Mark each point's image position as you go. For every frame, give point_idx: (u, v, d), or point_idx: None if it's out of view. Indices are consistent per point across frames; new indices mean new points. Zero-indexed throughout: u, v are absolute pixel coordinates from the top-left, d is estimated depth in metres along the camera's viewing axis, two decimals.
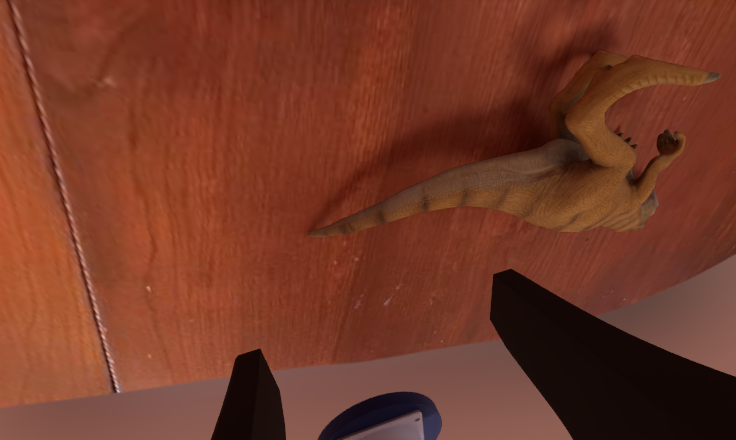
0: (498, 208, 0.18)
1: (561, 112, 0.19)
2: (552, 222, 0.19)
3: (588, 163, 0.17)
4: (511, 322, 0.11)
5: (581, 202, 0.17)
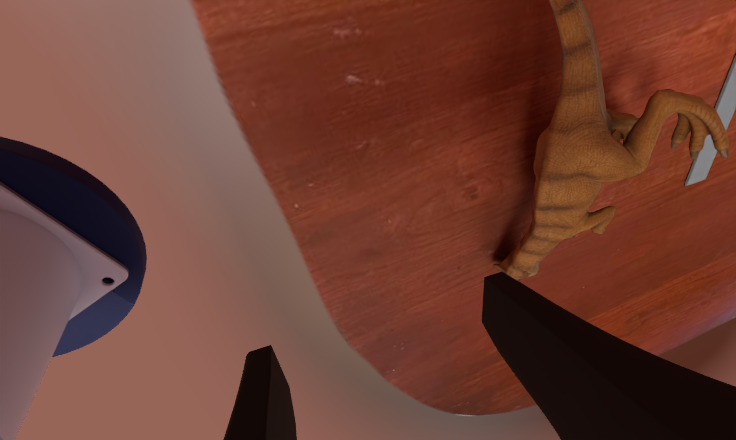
0: (567, 96, 0.18)
1: None
2: (563, 160, 0.19)
3: None
4: (502, 325, 0.11)
5: (608, 156, 0.18)
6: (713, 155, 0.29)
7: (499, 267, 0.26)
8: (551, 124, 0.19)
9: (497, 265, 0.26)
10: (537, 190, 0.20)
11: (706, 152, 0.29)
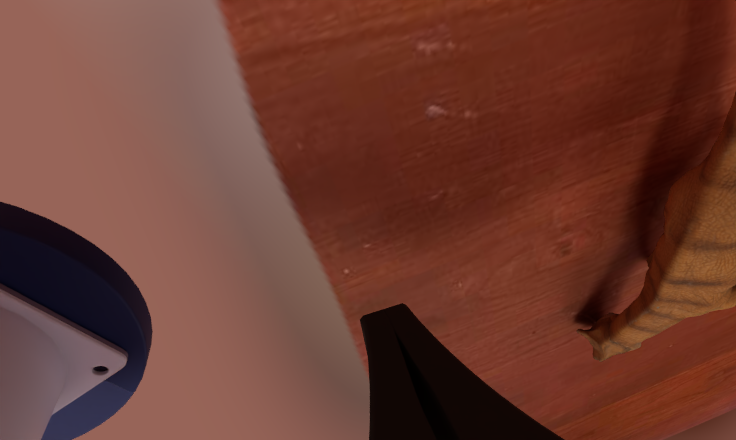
0: None
1: None
2: (723, 225, 0.13)
3: None
4: None
5: None
6: None
7: (588, 336, 0.21)
8: (708, 175, 0.13)
9: (585, 333, 0.21)
10: (671, 259, 0.15)
11: None
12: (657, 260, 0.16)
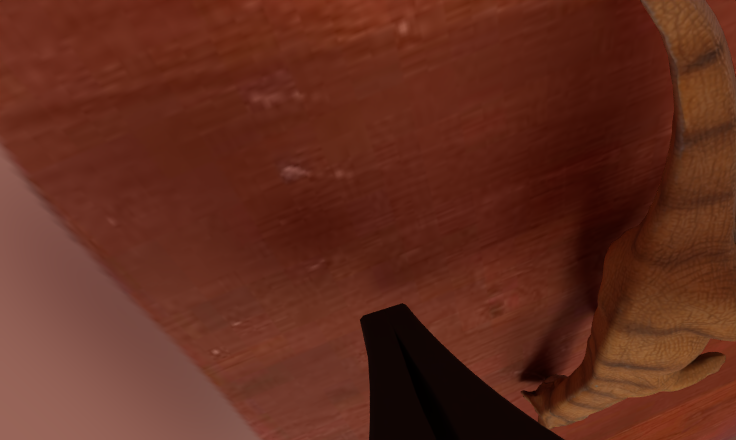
0: (676, 210, 0.10)
1: None
2: (658, 308, 0.11)
3: None
4: None
5: None
6: None
7: (530, 402, 0.18)
8: (639, 247, 0.11)
9: (527, 397, 0.18)
10: (604, 338, 0.12)
11: None
12: (593, 332, 0.14)
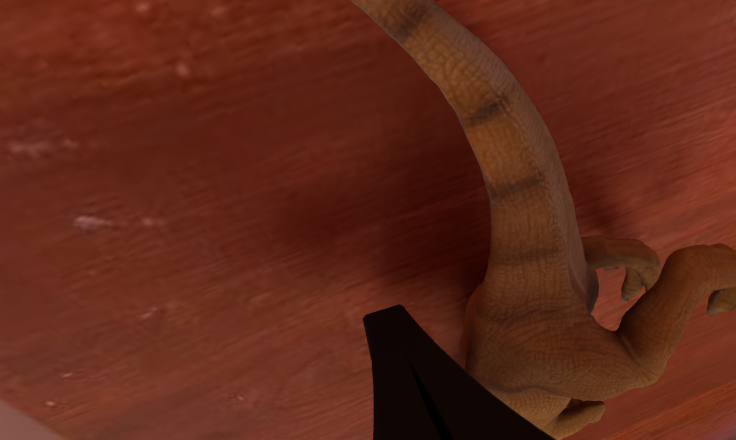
0: (501, 265, 0.09)
1: (587, 256, 0.13)
2: (501, 366, 0.10)
3: (612, 333, 0.10)
4: None
5: (584, 372, 0.09)
6: None
7: None
8: (479, 300, 0.10)
9: None
10: None
11: None
12: None
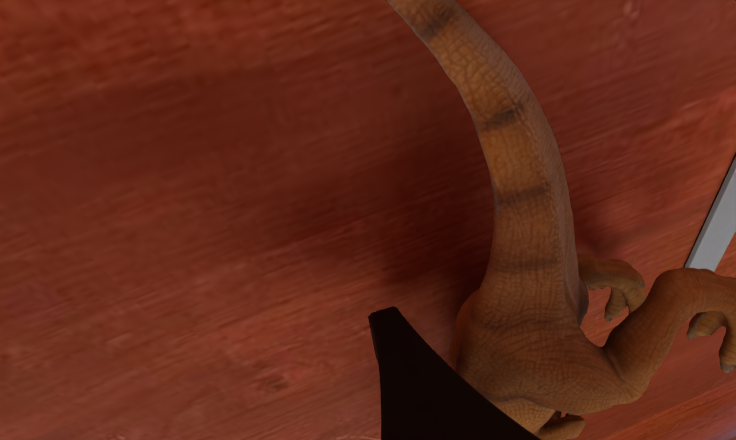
0: (500, 272, 0.09)
1: None
2: (491, 374, 0.10)
3: (599, 348, 0.11)
4: None
5: (571, 385, 0.10)
6: None
7: None
8: (474, 307, 0.10)
9: None
10: None
11: None
12: None
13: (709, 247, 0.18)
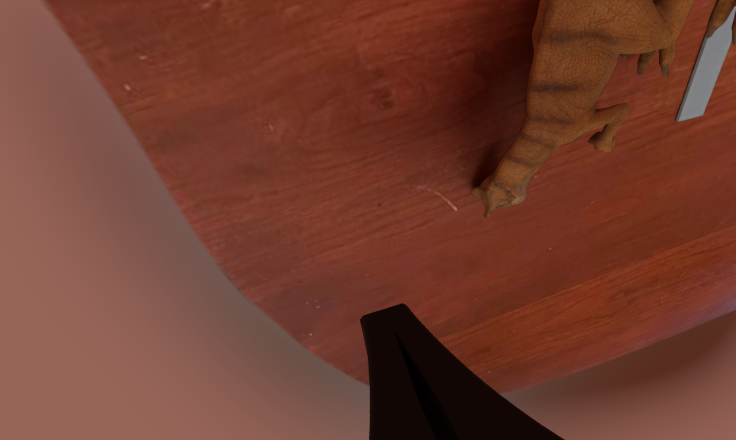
0: None
1: None
2: (573, 9, 0.14)
3: None
4: None
5: (632, 4, 0.14)
6: (712, 81, 0.24)
7: (478, 190, 0.21)
8: None
9: (476, 188, 0.21)
10: (534, 61, 0.16)
11: (703, 76, 0.23)
12: (529, 79, 0.17)
13: (719, 34, 0.22)
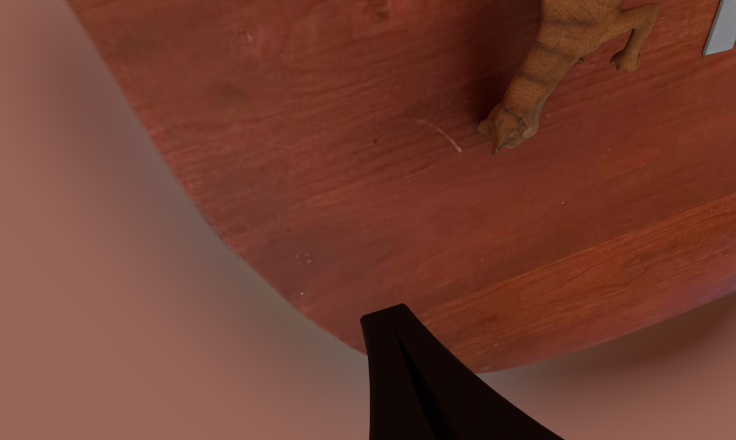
0: None
1: None
2: None
3: None
4: None
5: None
6: None
7: (485, 122, 0.19)
8: None
9: (483, 121, 0.19)
10: None
11: (734, 0, 0.21)
12: None
13: None
